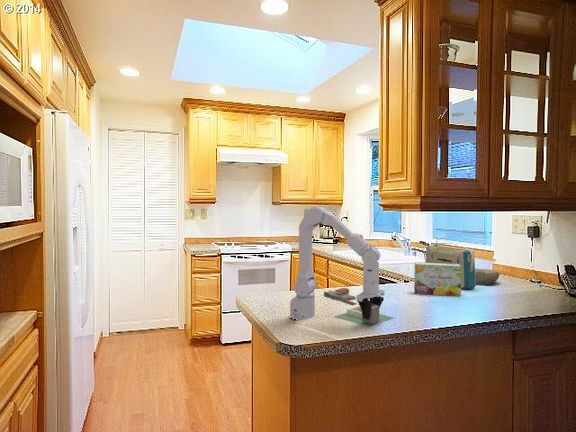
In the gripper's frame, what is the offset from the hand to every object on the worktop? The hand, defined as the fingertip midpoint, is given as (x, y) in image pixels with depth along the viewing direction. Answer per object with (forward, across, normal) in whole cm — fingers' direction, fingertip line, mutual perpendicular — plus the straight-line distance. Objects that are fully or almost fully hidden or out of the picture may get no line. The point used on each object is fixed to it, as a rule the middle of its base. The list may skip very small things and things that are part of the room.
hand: (370, 317), depth 148 cm
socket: (+2, +6, +8) cm, 11 cm away
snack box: (+3, +65, +8) cm, 66 cm away
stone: (+3, +109, +3) cm, 109 cm away
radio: (+3, +90, +15) cm, 92 cm away
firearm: (+4, +26, +30) cm, 40 cm away
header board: (+3, +4, +6) cm, 8 cm away
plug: (+1, 0, 0) cm, 1 cm away
